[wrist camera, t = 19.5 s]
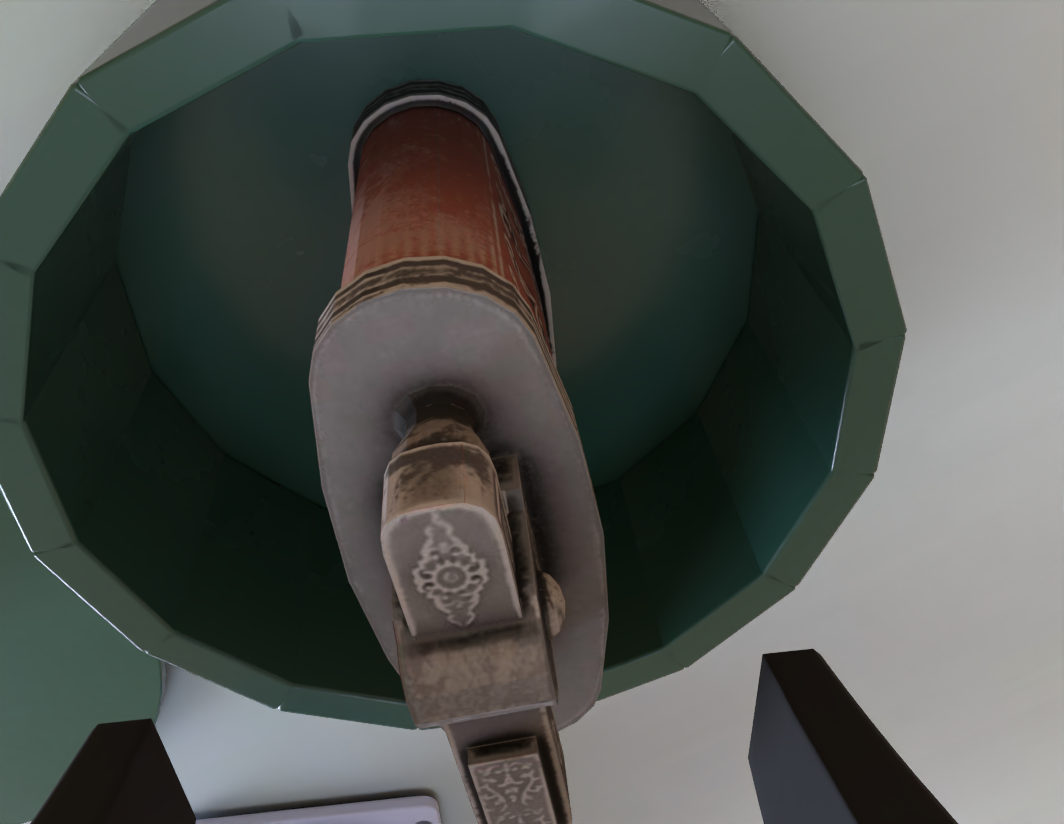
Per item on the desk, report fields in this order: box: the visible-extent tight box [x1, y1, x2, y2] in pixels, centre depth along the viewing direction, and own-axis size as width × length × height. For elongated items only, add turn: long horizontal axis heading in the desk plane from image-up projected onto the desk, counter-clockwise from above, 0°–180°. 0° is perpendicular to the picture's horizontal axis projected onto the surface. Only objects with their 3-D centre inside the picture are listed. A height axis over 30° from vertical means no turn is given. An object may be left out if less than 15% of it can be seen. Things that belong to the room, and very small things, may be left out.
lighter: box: [309, 79, 609, 824], centre depth 14 cm, size 8×3×10 cm, turn 9°
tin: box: [0, 0, 906, 730], centre depth 17 cm, size 14×14×6 cm
